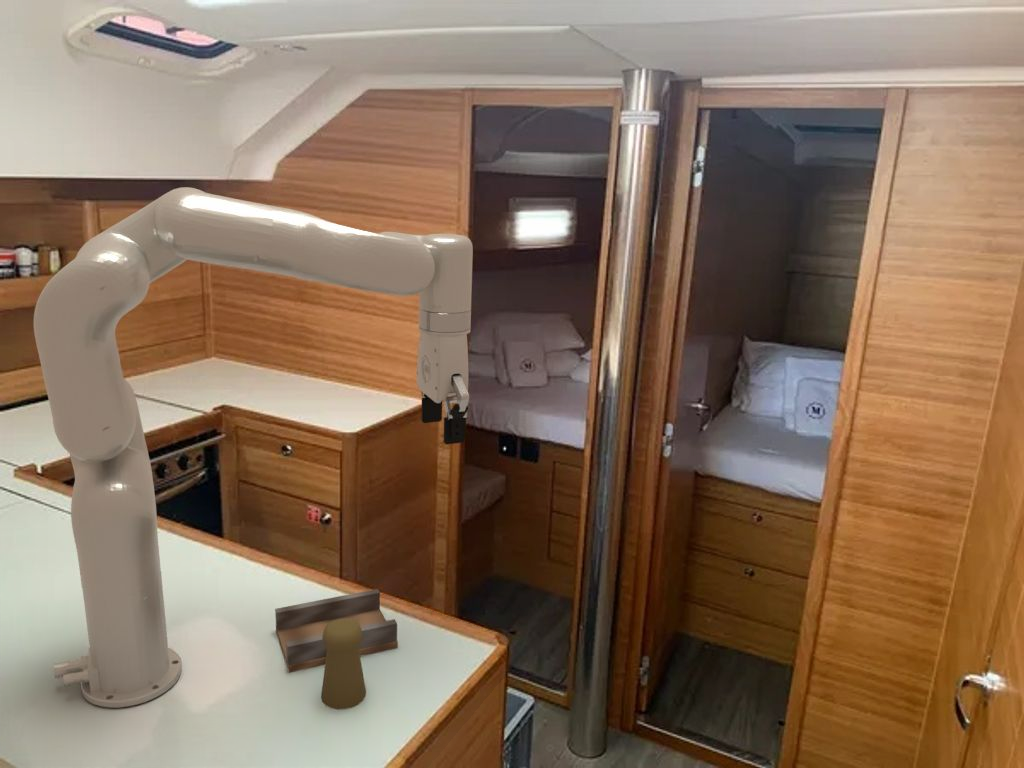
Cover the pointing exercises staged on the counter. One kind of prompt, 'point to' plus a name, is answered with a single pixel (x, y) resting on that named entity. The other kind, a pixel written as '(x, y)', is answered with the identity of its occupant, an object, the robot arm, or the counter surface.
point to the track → (308, 621)
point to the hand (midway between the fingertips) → (442, 431)
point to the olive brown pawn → (343, 665)
